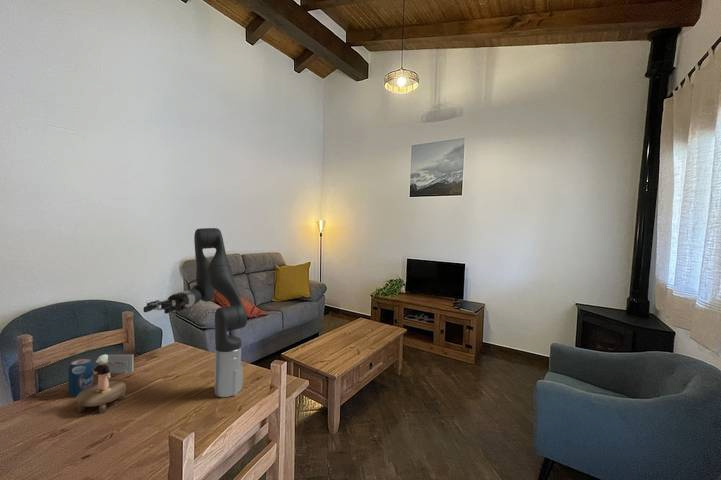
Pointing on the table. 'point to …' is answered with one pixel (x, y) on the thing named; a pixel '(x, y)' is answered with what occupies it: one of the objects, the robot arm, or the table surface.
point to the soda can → (80, 376)
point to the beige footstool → (100, 396)
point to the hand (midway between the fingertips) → (154, 310)
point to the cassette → (125, 363)
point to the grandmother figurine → (103, 374)
